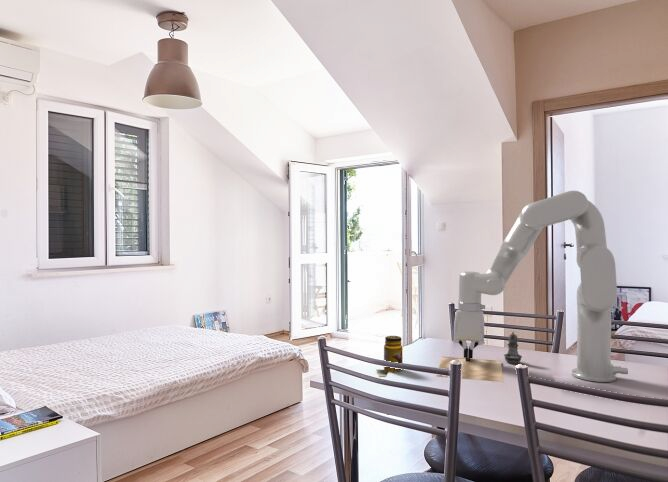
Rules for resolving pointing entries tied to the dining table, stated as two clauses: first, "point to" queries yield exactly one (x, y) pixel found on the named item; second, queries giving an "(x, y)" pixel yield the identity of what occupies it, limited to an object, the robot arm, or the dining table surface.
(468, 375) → the laid floor planks
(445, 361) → the board
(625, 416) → the dining table surface
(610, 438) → the dining table surface
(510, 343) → the dark grey tall piece
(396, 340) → the condiment
